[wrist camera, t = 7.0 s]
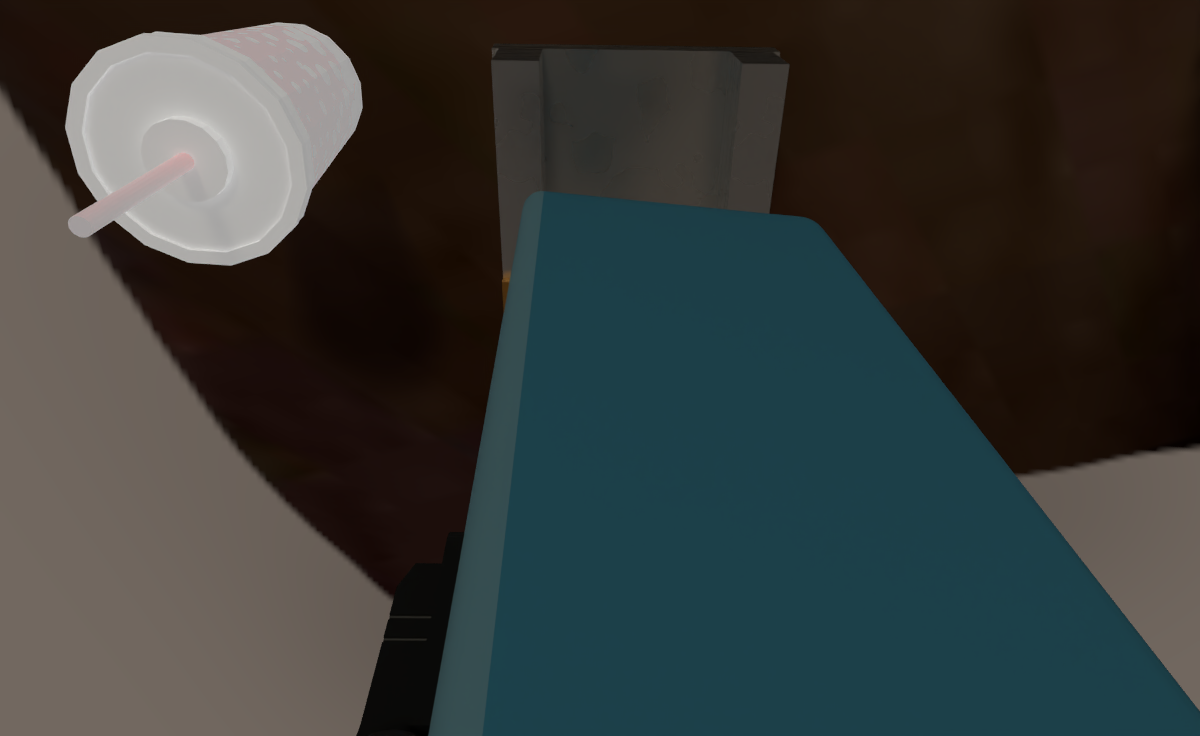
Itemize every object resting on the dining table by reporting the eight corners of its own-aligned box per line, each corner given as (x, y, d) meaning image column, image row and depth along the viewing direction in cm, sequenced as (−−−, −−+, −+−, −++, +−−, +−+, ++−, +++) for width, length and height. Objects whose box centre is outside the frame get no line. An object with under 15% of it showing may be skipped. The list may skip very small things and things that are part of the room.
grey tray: (773, 47, 27) (800, 66, 24) (724, 449, 36) (737, 503, 33) (494, 43, 27) (481, 62, 24) (516, 448, 36) (508, 502, 33)
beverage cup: (308, -39, 26) (64, 5, 14) (417, 123, 28) (293, 277, 16) (175, 56, 27) (-153, 171, 15) (290, 201, 30) (92, 395, 18)
